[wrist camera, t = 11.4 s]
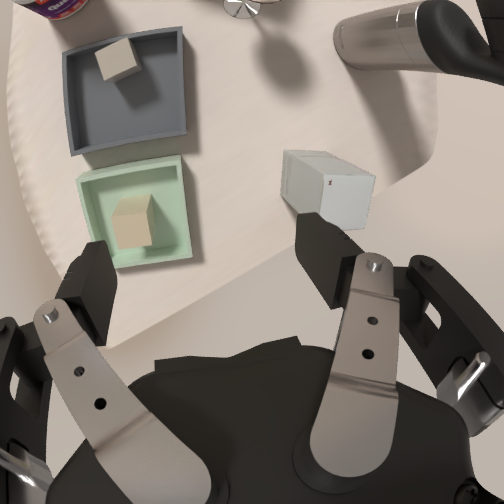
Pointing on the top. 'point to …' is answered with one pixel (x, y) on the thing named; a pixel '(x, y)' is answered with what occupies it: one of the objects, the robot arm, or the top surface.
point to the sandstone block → (134, 222)
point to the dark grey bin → (125, 93)
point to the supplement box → (327, 187)
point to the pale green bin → (135, 184)
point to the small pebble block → (118, 60)
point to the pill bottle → (53, 7)
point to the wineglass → (244, 7)
